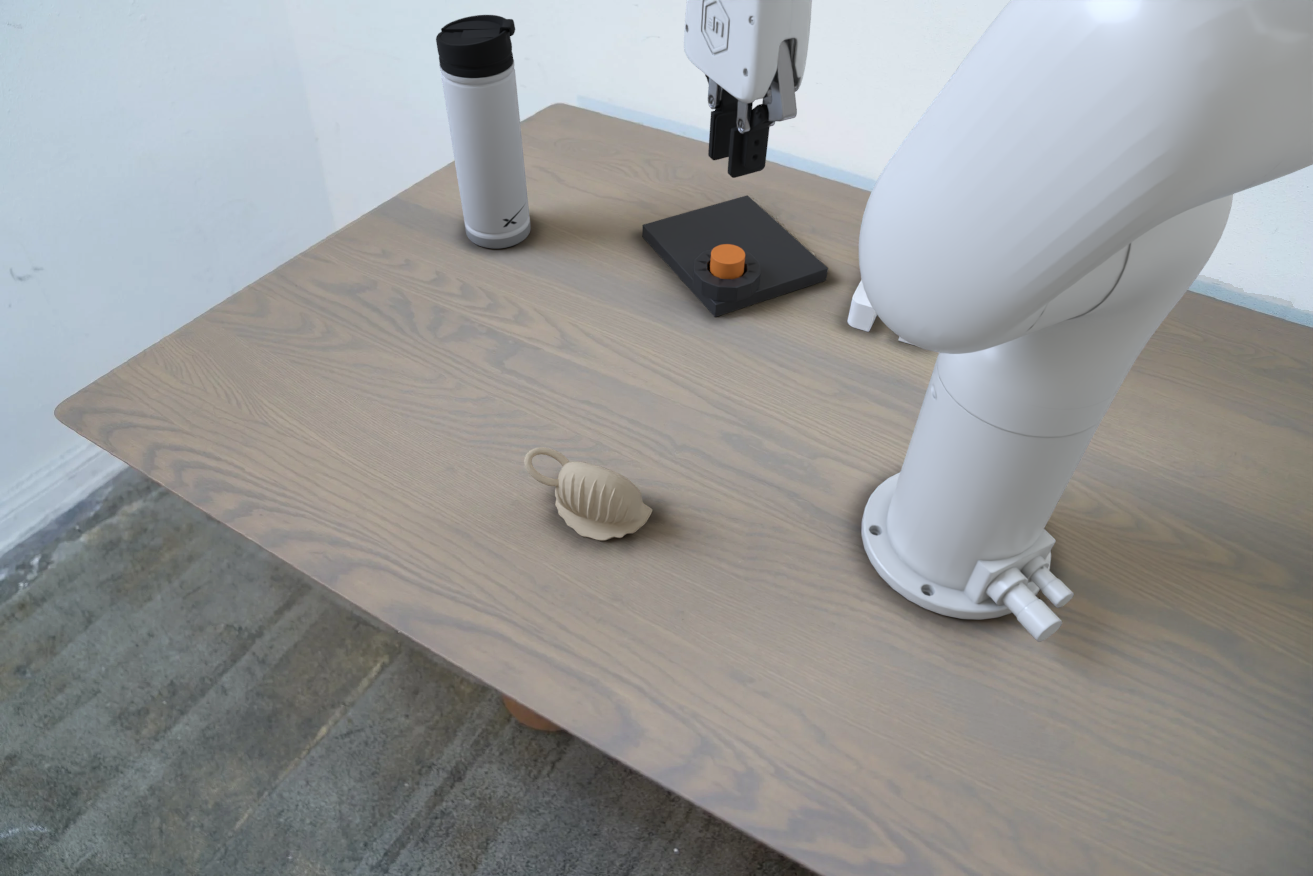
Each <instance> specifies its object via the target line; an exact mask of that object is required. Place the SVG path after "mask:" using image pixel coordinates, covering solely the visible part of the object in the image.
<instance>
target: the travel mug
mask: <svg viewBox="0 0 1313 876" xmlns="http://www.w3.org/2000/svg"><path fill="white" fill-rule="evenodd" d="M515 33H516V25H515V21H514V19H512V18H506V17H503V16H500V15H496V14H479V15H478V14H477V15H471V16H465V17H462V18H458V19H455V20H453V21H450V22H449V23H447V24H445V25H444V26H442V27H441V28H440V32H438V33H437V35H436V37H435V42H436V49H437V53H438V61H439V66H438V67H439V71H440V78H441V85H442V91H443V97H444V103H445V110H446V115H447V116H446V117H447V122H448V128H449V134H450V140H451V147H452V153H453V160H454V166H455V172H456V178H457V184H458V185H457V186H458V190H459V197H460V202H461V209H462V215H463V221H464V227H465V233H466V237H467V238H468V240H470V241H471V242H472V243H473V244H475V245H477V246H478V247H481V248H485V249H486V248H487V249H495V250H496V249H505V248H510V247H513V246H515V245H518V244H520V243H522V242H523V241H524V240H525V239H527V237H528V236H529V235H530V232H531V217H530V208H529V207H530V206H529V198H528V187H527V177H526V167H525V157H524V146H523V137H522V126H521V118H520V117H521V115H520V105H519V97H518V86H517V77H516V76H517V75H516V69H515V59H514V54H513V43H512V40H511V39H512V38H511V37H512V36H514V35H515Z"/></svg>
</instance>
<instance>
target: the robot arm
mask: <svg viewBox="0 0 1313 876" xmlns="http://www.w3.org/2000/svg"><path fill="white" fill-rule="evenodd" d="M812 6H813V0H686V3H685V14H684V26H683V27H684V28H683V52H684V54H685V56H686V58H687V59H688V60H689V62H690V63H691V64H692V65H693V66H695V67H696V68H697V69H698V70H699V71H701V72H702V73H703V74H704V77H705V78H706V81H707V84H708V87H707V89H708V90H707V104H708V106H709V108H710V109H711V110H712V111H711V110H710V121H709V136H708V151H707V152H708V153H707V156H708V157H709V158H710V159H711V160H712V161H719V160H722V159H726V158H728V161H727V174H728V176H730V177H731V178H732V179H735V178H739V177H743V176H747V175H750V174H754V173H757V172H761V171H763V170H764V169H765V167H766V163H767V162H766V161H767V152H768V145H769V136H770V127H773V126H775V124H776V122H784V121H788V120H791V119H795V118H796V117H797V116H798V115H797V114H798V108H797V99H796V92H798V91H799V90H800V87H801V85H802V83H803V79H804V75H805V71H806V64H807V59H808V52H809V43H810V36H811V35H810V34H811V23H812V22H811V21H812ZM761 99H762V102H761V103H760V104H757V105H756V106H754V107H753V105H754V102H755V101H758V100H761ZM1310 166H1313V0H1010V1H1008V3H1006V5H1004V7H1003V8H1002V9H1001V11H999V13H998V14H997V15H996V17H995V18H994V19H993V21H992V22H991V23H990V24H989V25H988V27H987V28H986V30H985V31H984V32H983V33H982V35H981V36H980V37H979V39H978V40H977V42H976V43H975V44H974V45H973V46H972V48H971V49H970V50H969V52H968V54H967V55H966V56H965V57H964V59H963V60H962V61H961V63H960V64H959V65H958V67H957V68H956V69H955V71H954V72H953V74H952V75H951V76H950V78H948V80H947V82H946V83H945V84H944V85H943V87H942V88H941V90H940V91H939V92H938V93H937V95H936V96H935V97H934V99H933V101H931V103H930V105H928V107H927V108H926V110H925V111H924V112H923V114H922V115H921V116H920V118H919V119H918V120H917V122H916V123H915V125H914V126H913V127H912V128H911V130H910V131H909V132H908V134H907V135H906V137H905V138H904V139H903V140H902V142H901V143H900V145H899V146H898V148H897V149H896V150H895V152H894V153H893V154H892V156H891V157H890V158H889V160H888V162H887V163H886V164H885V166H884V167H883V169H882V171H881V173H880V175H879V176H878V178H877V180H876V181H875V183H874V185H873V188H872V190H871V192H870V195H869V197H868V199H867V202H866V205H865V208H864V210H863V215H862V219H861V223H860V227H859V229H860V230H859V236H858V265H859V266H858V267H859V272H860V279H861V280H862V282H863V286H864V290H865V292H866V295H867V298H868V300H869V302H870V304H871V306H872V307H873V309H874V311H875V312H876V314H877V317H878V318H879V320H881V322H882V323H883V324H884V325H885V326H886V327H887V328H888V329H889V330H891V332H893V334H895V335H897V336H898V337H899V336H900V337H901V338H902V339H904V340H906V341H907V342H909V343H911V344H910V345H912V344H913V346H915V347H917V348H920V349H923V350H926V351H929V352H934V353H938V354H937V357H936V360H935V364H934V367H933V369H932V373H931V375H930V379H929V382H928V385H927V388H926V391H925V394H924V397H923V401H922V403H921V407H920V410H919V414H918V416H917V419H916V422H915V425H914V429H913V431H912V434H911V438H910V441H909V443H908V444H909V445H908V447H907V450H906V454H905V456H904V460H903V463H902V466H901V469H900V471H899V472H898V473H895V474H894V475H891V476H889V477H887V478H886V479H885V480H884V481H882V482H881V483H880V484H878V486H877V487H876V488H875V490H874V491H872V493H871V494H870V495H869V498H868V500H867V503H866V504H865V506H864V510H863V514H862V518H861V533H860V534H861V539H862V544H863V548H864V549H863V550H864V552H865V553H866V555H867V557H868V559H869V560H868V561H869V562H870V564H871V565H872V566H873V568H874V570H875V571H876V572H877V574H878V575H879V576H880V577H881V578H882V579H883V580H884V582H885V583H886V584H887V585H888V586H890V588H891V589H893V591H895V592H896V593H898V594H899V595H901V596H902V597H903V598H905V599H906V600H908V601H909V602H912V603H913V604H915V605H916V606H919V607H921V608H923V609H924V610H927V611H931V612H933V613H936V614H939V615H941V616H946V617H951V618H956V619H961V620H979V621H980V620H981V621H983V620H989V619H997V618H1000V617H1004V616H1006V615H1010V614H1013V615H1014V616H1015V617H1016V620H1017V621H1018V623H1020V625H1021V626H1022V627H1023V628H1024V629H1025V630H1026V631H1027V632H1028V634H1029V635H1031V637H1032V638H1033V639H1034V640H1035V641H1036V642H1037V643H1039V642H1043V641H1045V640H1047V639H1048V638H1050V637H1051V636H1052V635H1054V634H1056V632H1057V631H1058V630H1059V629H1060V628H1061V627H1062V625H1063V621H1062V619H1061V618H1059V617H1058V615H1057V614H1056V613H1055V612H1054V611H1053V610H1052V609H1051V608H1050V607H1049V606H1048V605H1047V604H1046V603H1045V601H1043V600H1042V599H1039V597H1037V595H1038V593H1039V591H1041V593H1042V594H1043V595H1044V596H1045V597H1046V598H1047V600H1048V601H1049V602H1051V603H1052V604H1053V606H1054V607H1055V608H1057V609H1059V608H1062V607H1063V606H1065V605H1067V604H1068V603H1069V602H1070V601H1071V600H1072V599H1073V598H1074V595H1075V593H1074V592H1073V591H1072V590H1071V589H1070V588H1069V587H1068V586H1067V585H1066V584H1065V583H1064V582H1063V581H1062V580H1061V579H1060V578H1057V577H1056V575H1054V574H1053V573H1052V571H1051V570H1050V569H1051V562H1052V561H1051V560H1052V553H1051V550H1052V549H1053V547H1054V545H1055V544H1056V539H1055V538H1054V537H1053V536H1052V535H1051V534H1050V533H1049V532H1048V530H1046V529H1045V528H1046V525H1048V522H1049V520H1050V518H1051V517H1052V515H1053V512H1054V511H1055V509H1056V508H1057V505H1058V503H1059V501H1060V499H1061V497H1062V495H1063V493H1064V492H1065V490H1066V489H1067V486H1068V485H1069V483H1070V480H1071V479H1072V478H1073V475H1074V473H1075V471H1076V469H1077V467H1078V465H1079V464H1080V462H1081V460H1082V458H1083V456H1084V454H1085V453H1086V450H1087V449H1088V447H1089V445H1090V443H1091V441H1092V439H1093V438H1094V435H1095V434H1096V433H1097V430H1098V428H1099V427H1100V424H1101V422H1102V420H1103V419H1104V417H1105V416H1106V414H1107V412H1108V410H1109V409H1110V407H1111V405H1112V404H1113V401H1114V400H1115V397H1116V396H1117V394H1118V392H1119V390H1120V388H1121V387H1122V385H1123V383H1124V382H1125V380H1126V377H1127V376H1128V374H1129V372H1130V371H1131V369H1132V367H1133V365H1134V364H1135V362H1136V360H1137V359H1138V357H1139V356H1140V354H1141V353H1142V352H1143V350H1144V349H1145V347H1146V345H1147V344H1148V342H1149V341H1150V339H1151V338H1152V336H1154V334H1155V333H1156V331H1157V330H1158V329H1159V327H1160V326H1161V325H1162V323H1163V322H1164V320H1165V319H1166V318H1167V316H1168V315H1170V313H1171V311H1172V310H1174V308H1175V307H1176V305H1177V304H1178V303H1179V301H1180V300H1181V299H1182V298H1183V297H1184V295H1185V294H1186V292H1187V291H1188V290H1189V289H1190V288H1191V286H1192V285H1193V283H1194V282H1195V281H1196V279H1197V278H1198V276H1199V275H1200V274H1201V272H1202V270H1203V269H1204V268H1205V266H1206V265H1207V263H1208V262H1209V260H1210V258H1211V257H1212V255H1213V253H1214V252H1215V250H1216V247H1217V246H1218V244H1219V242H1220V240H1221V239H1222V236H1223V234H1224V231H1225V229H1226V226H1227V224H1228V221H1229V217H1230V215H1231V210H1232V206H1233V198H1234V195H1235V194H1237V193H1240V192H1243V191H1245V190H1249V189H1252V188H1255V187H1257V186H1260V185H1263V184H1265V183H1269V182H1271V181H1274V180H1277V179H1279V178H1282V177H1285V176H1288V175H1291V174H1293V173H1296V172H1298V171H1301V170H1303V169H1305V168H1307V167H1310Z"/></svg>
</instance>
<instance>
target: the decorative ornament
mask: <svg viewBox="0 0 1313 876" xmlns="http://www.w3.org/2000/svg"><path fill="white" fill-rule="evenodd" d="M540 455H543V456H548V457H550V458H553V459H555V460H556V461H557V462H558V463H559V464H560V465H561V466H562V467H561V468H560V471H559V473H558V475H557V478H552V477H548V476H546V475H544V474H542V473H540V472H539V471H537V470H536V468H535V467H534V465H533V458H535V457H536V456H540ZM523 463H524V468H525V469H526V472H527V473H528V474H529V476H530V477H531V478H533V479H534V480H536V482H538V483H541V484H542V485H545V486H548V487H555V489H554V496H555V502H554V506H555V507H556V509H557V514H558V516H559V517H561V518H562V519H563V520H564V522H565V525H566V526H568V527H569V528H571V529H573V530H574V531H575V532H576V533H577V534H578V535H579V536H581V537H583V538H590V539H593V540H595V541H601V542H602V541H603V542H604V541H607V540H610V539H613V538H617V539H622V538H623V537H624V536H626V535H628V534H635V533H636V532H638V530H639V529H641V528H642V527H643V526H645V524H646V523H647V522H648V521H649V519H650V517H651V515H652V513H653V509H652V508H651V507H650V506H649V505H647V504H645V503H644V502H643V497H642V492H641V491H640V489H639V488H638V487H637V485H636V484H634V482H633V481H631V479H629V478H627V477H625V476H624V475H622V474H621V473H618V472H616V471H615V470H611V469H608V468H606V467H603V466H600V465H596V464H592V463H589V462H586V461H570V460H569V459H568V458H567V457H566V456H565V455H564V454H563V453H562V452H559V451H558V450H555V449H554V448H550V447H543V446H540V447H534V448H532V449H530V450H529V451H527V453H526V454H525V456H524V460H523Z"/></svg>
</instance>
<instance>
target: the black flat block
mask: <svg viewBox="0 0 1313 876" xmlns="http://www.w3.org/2000/svg"><path fill="white" fill-rule="evenodd" d="M641 230H642V234H641V235H642V238H643V239H644V240H645V241H646V242H647V244H648V245H649V246H650V248H652V249H653V250H654V252H655V253H656V254H657V255H658V256H659V257H660V258H661V259H662V260H663V261H664V263H665V264H666V265H667V266H668V267H669V268H670V269H671V270H672V271H673V272H674V274H675V275H676V276H677V277H678V278H679V279H680V280H681V281H682V283H683V284H685V286H686V287H687V288H688V289H689V290H690V291H691V292H692V293H693V295H695V297H696V298H697V299H698V300H699V301H700V302H701V303H702V305H703V306H704V307H705V308H706V309H707V310H708V311H709V312H710V313H711V315H713V317H714V318H717V317H719V316H722V315H726V314H728V313H731V312H735V311H738V310H741V309H744V308H747V307H749V306H753V305H756V304H759V303H762V302H765V301H768V300H771V299H774V298H777V297H781V296H783V295H786V294H789V293H793V292H796V291H799V290H801V289H804V288H808V287H810V286H813V285H818V284H820V283H823V282H826V281H827V277H828V271H829V267H827V266H826V265H825V264H824V262H822V261H821V260H820V259H819V258H818V257H817V256H816V255H814V254H813V252H811V251H810V250H809V249H808V248H806V247H805V246H804V245H803V244H802V243H801V242H800V241H799V240H798V239H796V238H795V236H793V235H792V234H791V233H790V232H789V231H788V230H787V229H786V228H785V227H784V226H782V225H781V224H780V223H779V222H778V221H777V220H776V219H774V218H773V216H771V215H770V214H769V213H768V212H766V210H765V209H764V208H762V207H761V206H760V205H759V204H758V203H757V202H756V201H754V200H753V199H752V198H751V196H749V195H743V196H740V197H736V198H732V199H729V200H726V201H721V202H718V203H715V204H711V205H707V206H704V207H700V208H697V209H694V210H693V209H692V210H689V211H686V212H682V213H679V214H676V215H672V216H668V217H665V218H662V219H657V220H654V221H651V222H647V223H644V224H642V229H641ZM723 244H731V245H735V246H738V247H740V248H741V249H743V251H744V252H745V263H744V272H743V274H742V276H740V277H739V278H736V279H721V278H718V277H716V276H713V275H712V274H711V272H710V261H711V251H712V250H713V248H715V247H716V246H719V245H723Z"/></svg>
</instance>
